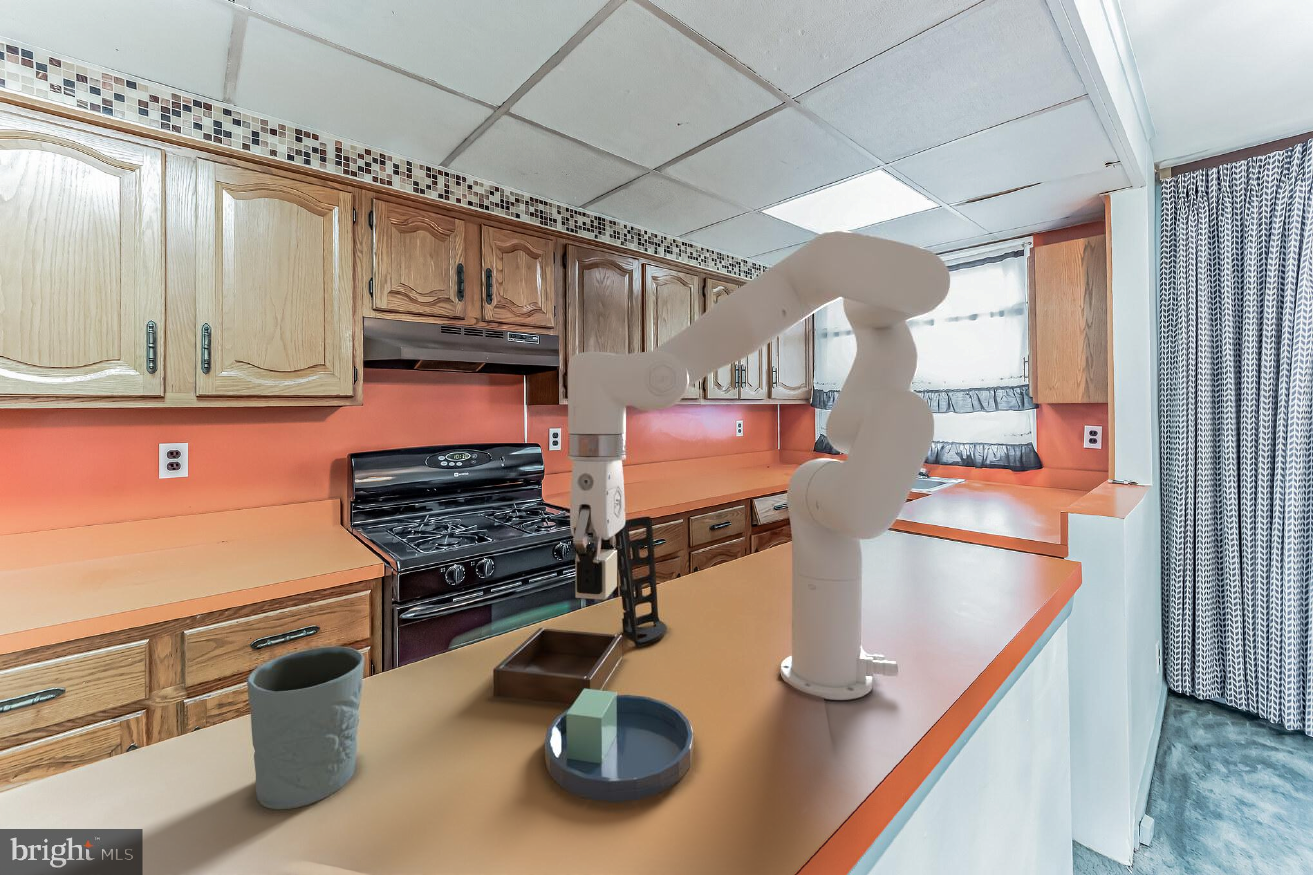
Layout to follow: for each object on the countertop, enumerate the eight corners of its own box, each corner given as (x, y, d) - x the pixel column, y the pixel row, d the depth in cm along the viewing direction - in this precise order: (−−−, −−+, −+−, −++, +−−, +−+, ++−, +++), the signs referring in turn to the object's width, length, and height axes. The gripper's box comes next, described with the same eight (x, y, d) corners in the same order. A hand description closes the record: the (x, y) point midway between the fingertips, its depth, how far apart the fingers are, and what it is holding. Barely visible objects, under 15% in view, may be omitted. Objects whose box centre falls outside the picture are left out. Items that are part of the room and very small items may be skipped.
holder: (659, 648, 87) (647, 525, 87) (614, 648, 88) (603, 528, 88) (671, 623, 98) (660, 514, 98) (631, 624, 99) (620, 517, 99)
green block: (616, 733, 63) (616, 691, 62) (601, 763, 57) (601, 717, 57) (584, 729, 63) (584, 688, 63) (566, 758, 58) (566, 713, 58)
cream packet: (617, 586, 73) (617, 549, 73) (605, 599, 67) (605, 560, 67) (589, 584, 74) (588, 548, 74) (575, 597, 68) (575, 558, 68)
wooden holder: (621, 661, 83) (621, 634, 83) (590, 711, 68) (590, 679, 68) (540, 652, 86) (539, 627, 86) (493, 699, 71) (492, 669, 71)
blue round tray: (701, 722, 66) (701, 702, 66) (679, 818, 50) (679, 791, 50) (577, 707, 69) (577, 688, 69) (519, 792, 53) (518, 768, 53)
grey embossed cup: (288, 752, 60) (286, 646, 60) (382, 747, 61) (380, 643, 60) (223, 819, 50) (220, 692, 49) (337, 813, 51) (334, 688, 50)
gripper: (606, 452, 61) (606, 609, 61) (639, 445, 78) (639, 569, 78) (544, 451, 62) (544, 605, 63) (590, 445, 79) (589, 566, 80)
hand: (597, 583), depth 71 cm, fingers closed on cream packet, 5 cm apart
